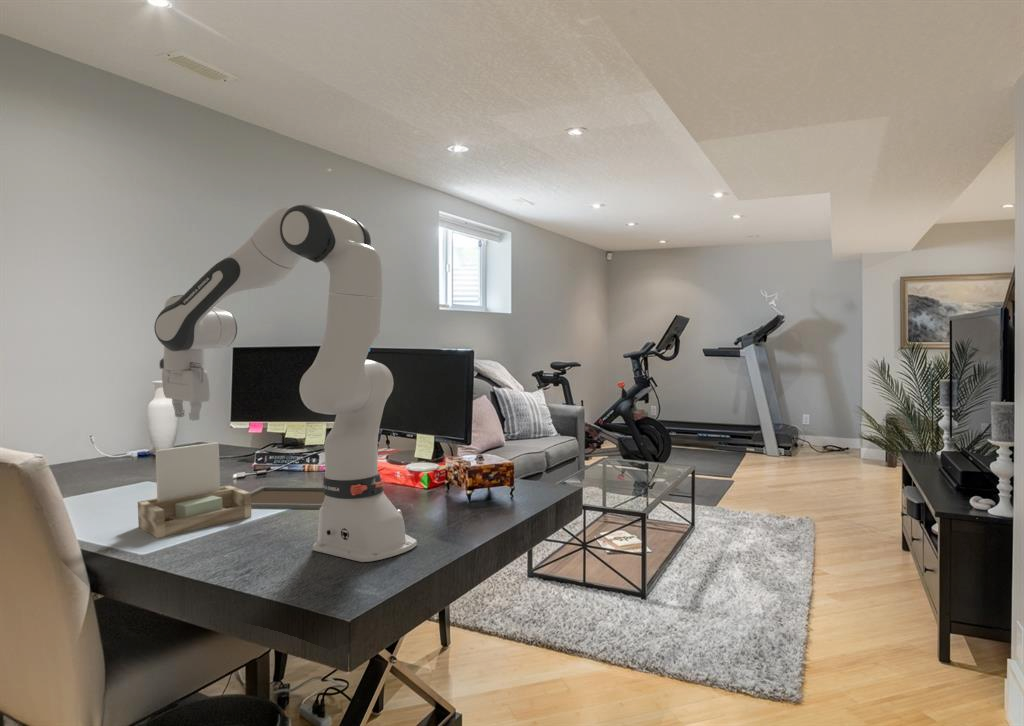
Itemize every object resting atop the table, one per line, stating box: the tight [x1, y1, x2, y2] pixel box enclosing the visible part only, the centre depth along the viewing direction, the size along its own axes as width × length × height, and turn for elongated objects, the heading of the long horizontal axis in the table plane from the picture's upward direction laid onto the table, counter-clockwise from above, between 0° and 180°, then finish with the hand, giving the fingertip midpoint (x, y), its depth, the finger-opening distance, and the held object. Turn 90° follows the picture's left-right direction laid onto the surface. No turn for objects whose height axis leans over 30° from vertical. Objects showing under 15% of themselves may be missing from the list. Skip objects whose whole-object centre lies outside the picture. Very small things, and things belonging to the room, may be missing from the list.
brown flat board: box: [249, 485, 325, 510], centre depth 169 cm, size 19×2×30 cm
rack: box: [137, 484, 252, 539], centre depth 148 cm, size 13×21×6 cm, turn 138°
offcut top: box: [175, 496, 223, 518], centre depth 147 cm, size 4×9×3 cm, turn 147°
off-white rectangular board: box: [155, 441, 221, 502], centre depth 150 cm, size 2×14×18 cm, turn 138°
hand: (186, 418), depth 150 cm, fingers open, 8 cm apart
